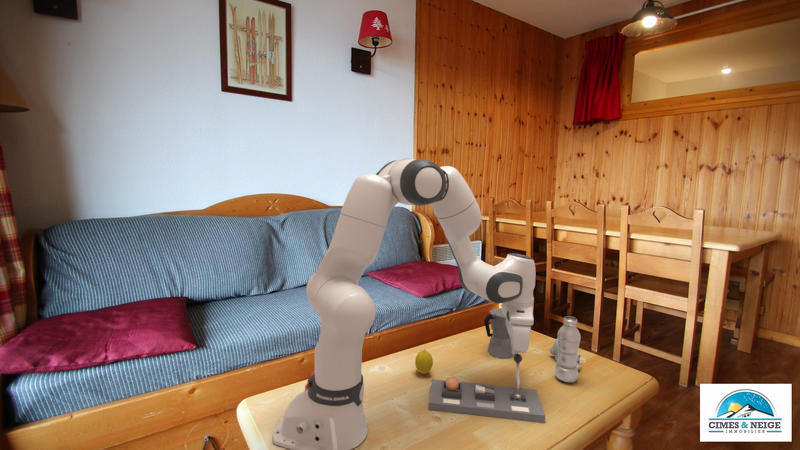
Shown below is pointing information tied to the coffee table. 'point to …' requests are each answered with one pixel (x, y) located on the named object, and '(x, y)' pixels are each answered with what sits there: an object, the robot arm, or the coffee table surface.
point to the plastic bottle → (568, 351)
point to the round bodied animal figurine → (555, 352)
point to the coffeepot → (498, 334)
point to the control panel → (486, 401)
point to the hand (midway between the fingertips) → (514, 352)
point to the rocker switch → (483, 390)
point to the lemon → (424, 362)
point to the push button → (452, 383)
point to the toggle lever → (517, 374)
